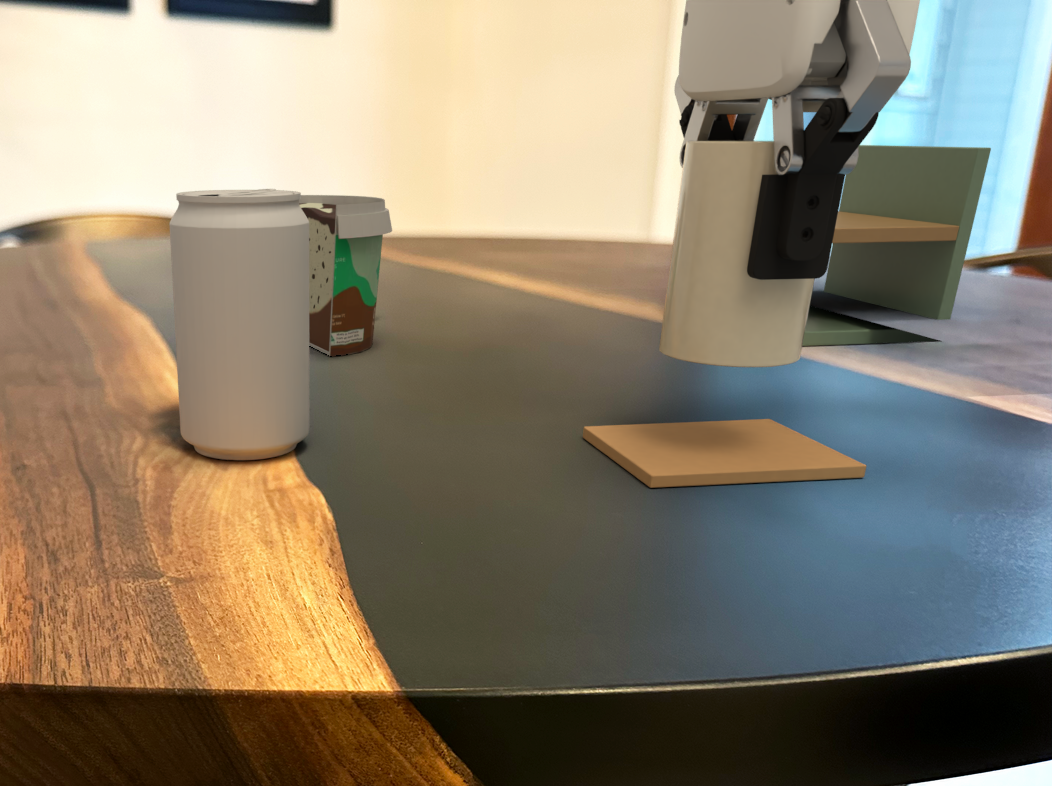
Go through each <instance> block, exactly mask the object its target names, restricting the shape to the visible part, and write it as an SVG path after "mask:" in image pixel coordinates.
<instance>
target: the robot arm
mask: <svg viewBox="0 0 1052 786" xmlns="http://www.w3.org/2000/svg"><path fill="white" fill-rule="evenodd" d="M920 2H921V0H686V1H685V4H684V5H685V7H684V13H683V20H682V29H681V36H680V47H679V57H678V58H679V59H678V74H677V75H678V76H677V77H676V80H675V83H674V88H673V89H674V96H675V100H676V102H677V105H678V109H679V112H680V119H678V120H679V126H680V130H681V133H682V137H683V141H682V144H681V147H680V151H679V164H680V167H681V168H682V169H683V163H684V156H685V148H686V142H687V141H694V140H755V137H756V136H757V135H756V134H757V131H758V129H759V127H760V124H761V121H762V117H763V115H764V113H765V110H766V107H767V103H768V101H769V100H770V101H771V110H772V111H771V112H772V113H771V114H772V133H773V135H772V136H773V137H772V138H773V139H772V140H774V164H775V170H776V172H777V174H770V175H762V179H761V185H760V192H759V198H758V204H757V210H756V216H755V223H754V229H753V235H752V241H751V247H750V254H749V260H748V266H747V273H748V275H749V276H750V277H752V278H755V279H759V280H773V279H820V278H822V277H824V276H825V275H826V274H827V271H828V266H829V261H830V256H831V250H832V245H833V243H832V241H833V236H834V231H835V226H836V221H837V215H838V211H839V208H840V203H841V197H842V192H843V187H844V182H845V176H846V175H847V174H849V173H851V172H852V171H853V169H854V168H855V166H856V164H857V161H858V156H859V145H862V143H863V142H864V140H865V138H866V137H868V136H869V133H871V131H872V130H873V129H874V127H875V125H876V124H877V121H878V119H879V115H880V113H881V112H882V111H883V109H884V108H885V106H886V105H887V104H888V102H889V101H891V99H892V97H893V96H894V94H896V92H897V91H898V89H899V88H900V87H901V86H902V84H903V83H904V82H905V80H906V79H907V77H908V76H909V73H910V70H911V65H912V60H911V56H910V54H911V50H912V46H913V41H914V35H915V32H916V26H917V25H916V24H917V21H918V20H917V19H918V13H919V8H920ZM804 113H815V114H814V115H813V116H812V118H811V119H810V121H809V122H808V124H807V126H806V127H805V123H804V122H805V121H804V119H805V118H804ZM729 115H730V116H732V115H733V116H734V115H735V117H736V118H735V120H734V123H733V125H732V126H731V124H730V120H729V117H728V116H729ZM679 194H680V192H679ZM676 209H678V207H677V208H676ZM674 232H675V230H674ZM672 247H673V245H672V246H671V248H672Z"/></svg>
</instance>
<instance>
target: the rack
mask: <svg viewBox="0 0 1052 786" xmlns="http://www.w3.org/2000/svg"><path fill="white" fill-rule="evenodd" d="M991 152H992V148H991V147H982V146H981V147H980V146H979V147H978V146H976V147H975V146H937V145H936V146H934V145H933V146H932V145H883V144H882V145H881V144H880V145H879V144H860V145H859V156H858V161H857V164H856V166H855V168H854V169H853V171H852V172H851V173H849V174H847V175H845V179H844V184H843V189H842V194H841V200H840V205H839V210H838V215H837V221H836V226H835V231H834V236H833V241H832V247H831V252H830V257H829V262H828V268H827V271H826V277H825V282H824V288H823V293H827V294H831V295H835V296H840V297H844V298H847V299H852V300H856V301H859V302H863V303H867V304H871V305H875V306H880V307H884V308H889V309H892V310H896V311H901V312H905V313H908V314H913V315H917V316H920V317H924V318H928V319H933V320H937V321H945V320H948V321H949V320H951V318H952V314H953V309H954V305H955V301H956V297H957V292H958V290H959V285H960V280H961V276H962V272H963V268H964V264H965V259H966V256H967V251H968V247H969V243H970V238H971V234H972V230H973V226H974V222H975V218H976V213H977V209H978V205H979V201H980V197H981V194H982V189H983V185H984V181H985V176H986V172H987V168H988V164H989V159H990V155H991ZM931 342H932V343H934V342H935V343H936V342H941V340H940V339H936V338H932V337H929V336H925V335H923V334H918V333H914V332H911V331H908V330H907V331H906V330H904V329H899V328H895V327H892V326H888V325H885V324H881V323H877V322H873V321H871V320H866V319H863V318H859V317H855V316H852V315H848V314H844V313H841V312H838V311H837V312H836V311H834V310H829V309H826V308H822V307H820V306H815V305H811V304H810V307H809V312H808V318H807V323H806V328H805V334H804V339H803V344H802V347H816V346H817V347H818V346H843V345H845V346H846V345H847V346H849V345H874V344H877V345H878V344H879V345H880V344H902V343H903V344H904V343H905V344H906V343H931Z"/></svg>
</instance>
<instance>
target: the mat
mask: <svg viewBox="0 0 1052 786" xmlns="http://www.w3.org/2000/svg"><path fill="white" fill-rule="evenodd" d="M582 429H583V430H582V438H583V439H584V440H585V441H586V442H588V444H591V445H592V446H593V447H594V448H596V449H597V450H599V451H600V452H602V453H603V454H604V455H605V456H607V457H608V458H609V459H611V460H612V461H614V462H615V463H616V464H618V466H620V467H622V468H623V469H624V470H626V471H627V472H628V473H629V474H631V475H633V477H635V478H636V479H638V480H639V481H640V482H642V483H643V484H645V485H646V486H647V487H649V488H650V489H654V488H655V489H657V488H673V487H674V488H677V487H694V486H695V487H698V486H699V487H701V486H717V485H718V486H719V485H720V486H721V485H738V484H740V485H741V484H756V483H757V484H758V483H759V484H760V483H777V482H778V483H783V482H801V481H821V480H824V481H825V480H843V479H863V478H865V475H866V470H867V465H866V464H865V463H862V462H860V461H858V460H856V459H854V458H852V457H850V456H848V455H846V454H844V453H841V452H840V451H838V450H835V449H833V448H831V447H829V446H827V445H825V444H823V443H821V442H819V441H817V440H814V439H813V438H811V437H809V436H806V435H804V434H802V433H800V432H798V431H796V430H794V429H791V428H790V427H787V426H786V425H783V424H781V423H779V422H777V421H775V420H773V419H771V418H759V419H757V418H756V419H737V420H736V419H733V420H732V419H731V420H710V421H707V420H706V421H686V422H685V421H684V422H663V423H662V422H660V423H659V422H657V423H637V424H615V425H614V424H613V425H612V424H611V425H588V426H583V428H582Z"/></svg>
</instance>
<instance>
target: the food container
mask: <svg viewBox="0 0 1052 786" xmlns="http://www.w3.org/2000/svg"><path fill="white" fill-rule="evenodd" d="M299 205H300V207H301V209H302V211H303V212H304V214H305V215H306V217H307V219H308V221H309V345H310V346H312V347H314V348H316V349H318V350H320V351H322V352H324V353H326V354H327V355H326V356H328V355H329V356H328V357H330V356H332V357H337V356H336V355H341V356H347V355H346V354H348V355H352V354H358V353H361V352H364V351H366V350H369V349H370V348H371V347H372V346H373V342H374V333H375V322H376V313H377V312H376V311H377V302H378V291H379V280H380V269H381V259H382V258H381V257H382V250H383V249H382V247H383V236H384V235H387V234H390V233H392V232H393V226H392V221H391V216H390V215H391V214H390V210H389V208H387V207H386V200H385V199H384V198H383V197H376V196H365V195H345V194H342V195H341V194H301V199H300V200H299Z"/></svg>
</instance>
